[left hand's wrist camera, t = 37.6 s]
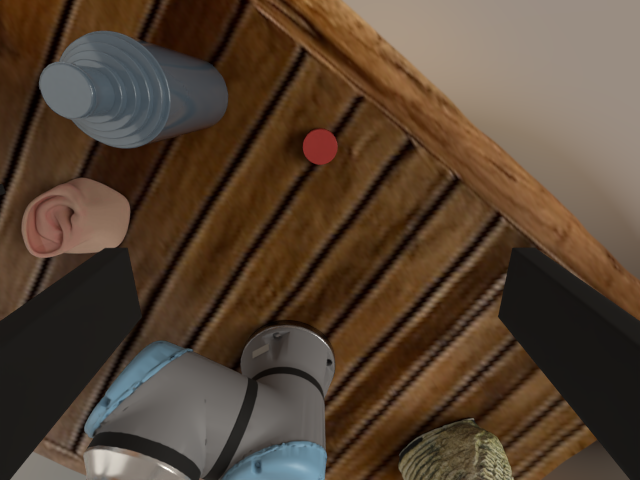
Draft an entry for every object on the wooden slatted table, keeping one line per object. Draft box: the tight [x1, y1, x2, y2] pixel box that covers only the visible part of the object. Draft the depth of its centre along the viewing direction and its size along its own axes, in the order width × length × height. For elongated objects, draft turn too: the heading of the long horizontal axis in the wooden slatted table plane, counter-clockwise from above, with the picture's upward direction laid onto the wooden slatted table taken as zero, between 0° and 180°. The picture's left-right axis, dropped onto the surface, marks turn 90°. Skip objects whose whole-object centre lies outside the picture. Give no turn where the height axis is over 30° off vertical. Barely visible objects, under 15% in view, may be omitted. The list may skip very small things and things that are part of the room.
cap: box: [303, 128, 338, 165], centre depth 47 cm, size 4×4×2 cm
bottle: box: [39, 31, 228, 148], centre depth 34 cm, size 8×8×25 cm
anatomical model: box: [22, 178, 130, 258], centre depth 50 cm, size 13×4×12 cm
